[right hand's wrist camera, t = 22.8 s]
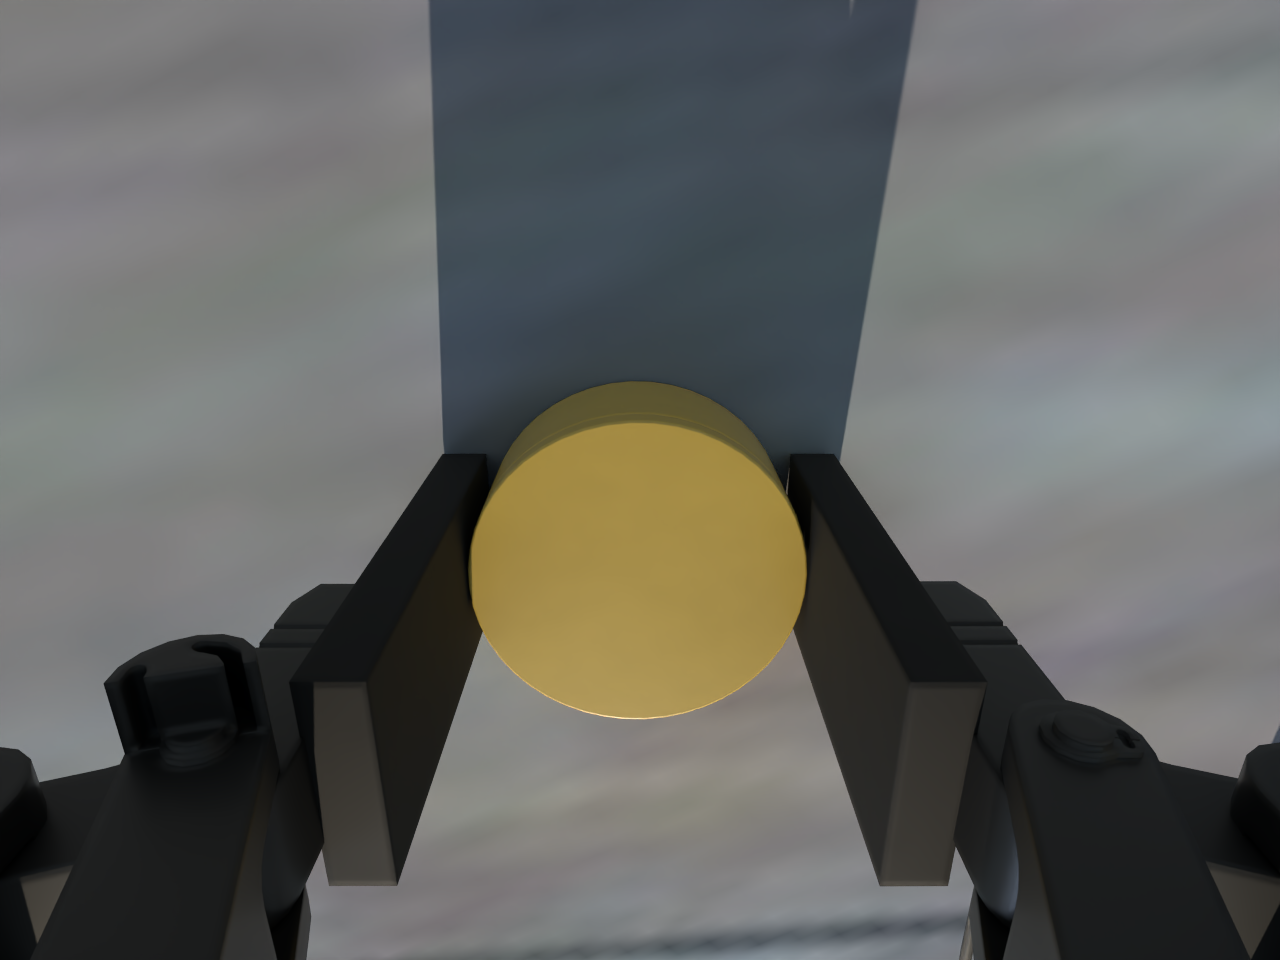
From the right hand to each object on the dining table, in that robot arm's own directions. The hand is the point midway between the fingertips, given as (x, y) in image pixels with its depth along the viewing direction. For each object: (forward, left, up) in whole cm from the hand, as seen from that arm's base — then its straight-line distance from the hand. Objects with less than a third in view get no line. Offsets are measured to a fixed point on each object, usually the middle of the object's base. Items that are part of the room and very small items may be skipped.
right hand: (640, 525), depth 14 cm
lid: (0, 0, +2) cm, 2 cm away
